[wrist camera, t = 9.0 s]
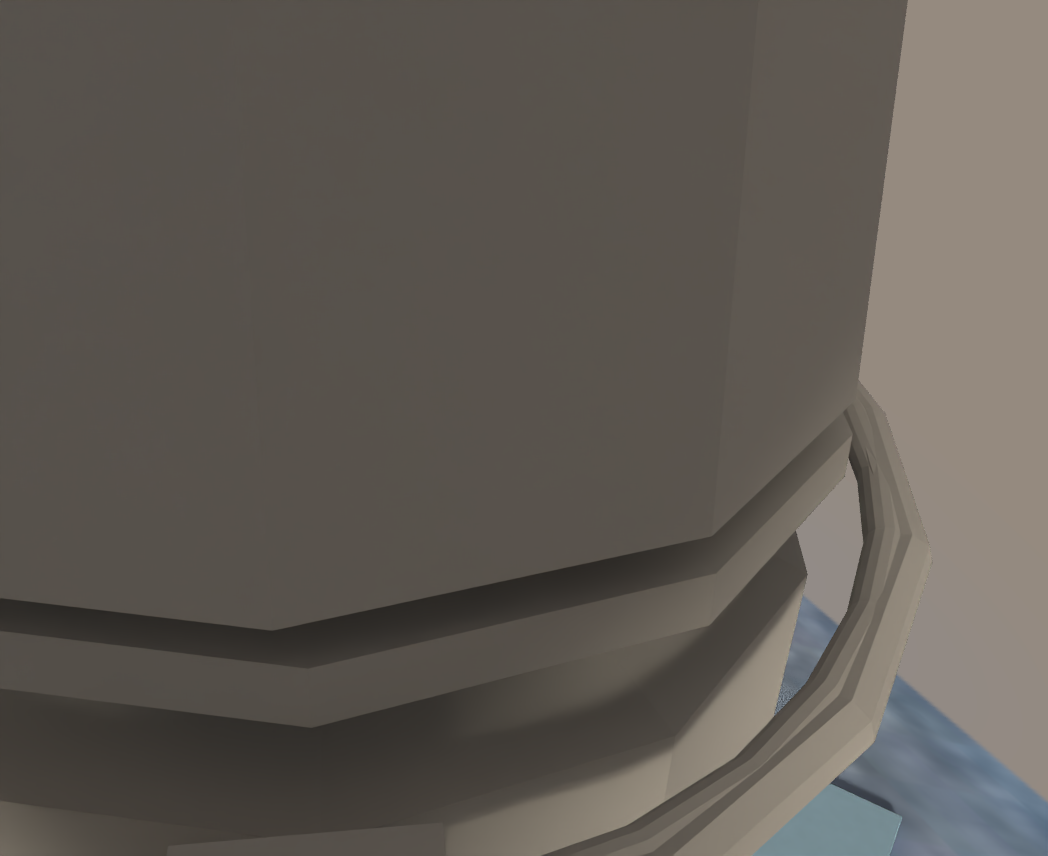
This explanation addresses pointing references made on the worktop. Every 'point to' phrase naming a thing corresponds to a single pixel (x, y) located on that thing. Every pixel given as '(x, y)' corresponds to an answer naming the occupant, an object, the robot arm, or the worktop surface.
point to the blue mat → (835, 828)
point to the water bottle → (436, 422)
